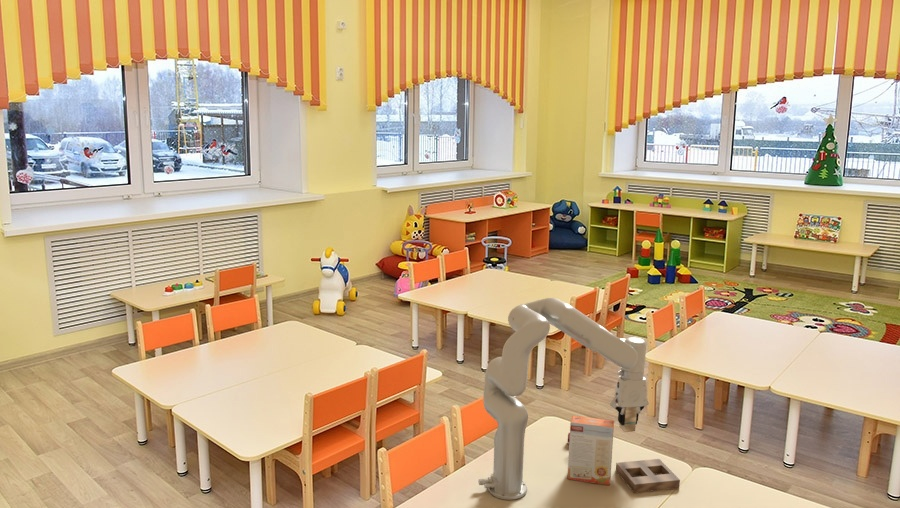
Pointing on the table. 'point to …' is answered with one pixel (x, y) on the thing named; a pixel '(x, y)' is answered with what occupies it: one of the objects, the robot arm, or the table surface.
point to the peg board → (647, 475)
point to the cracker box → (590, 450)
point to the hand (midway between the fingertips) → (627, 422)
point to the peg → (629, 419)
